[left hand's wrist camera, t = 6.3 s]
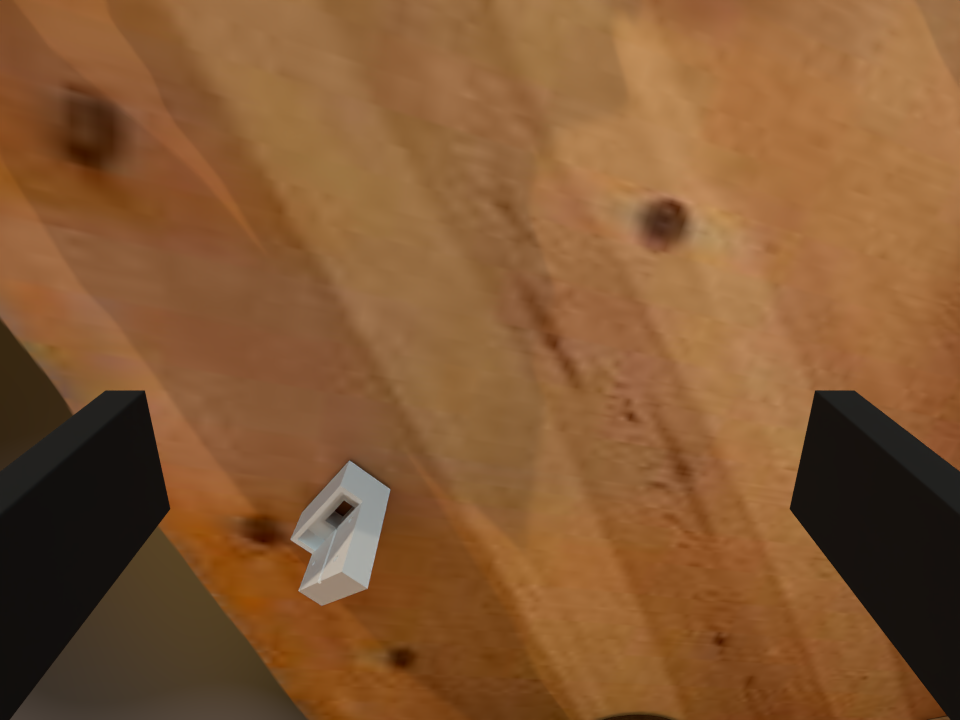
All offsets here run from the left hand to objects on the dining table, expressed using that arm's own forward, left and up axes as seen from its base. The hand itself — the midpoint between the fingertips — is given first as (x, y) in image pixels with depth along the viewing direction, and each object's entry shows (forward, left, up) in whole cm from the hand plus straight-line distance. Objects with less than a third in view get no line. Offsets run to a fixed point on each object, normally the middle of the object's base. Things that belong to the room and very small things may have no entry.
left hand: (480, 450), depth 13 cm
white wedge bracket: (-20, +10, -28) cm, 36 cm away
